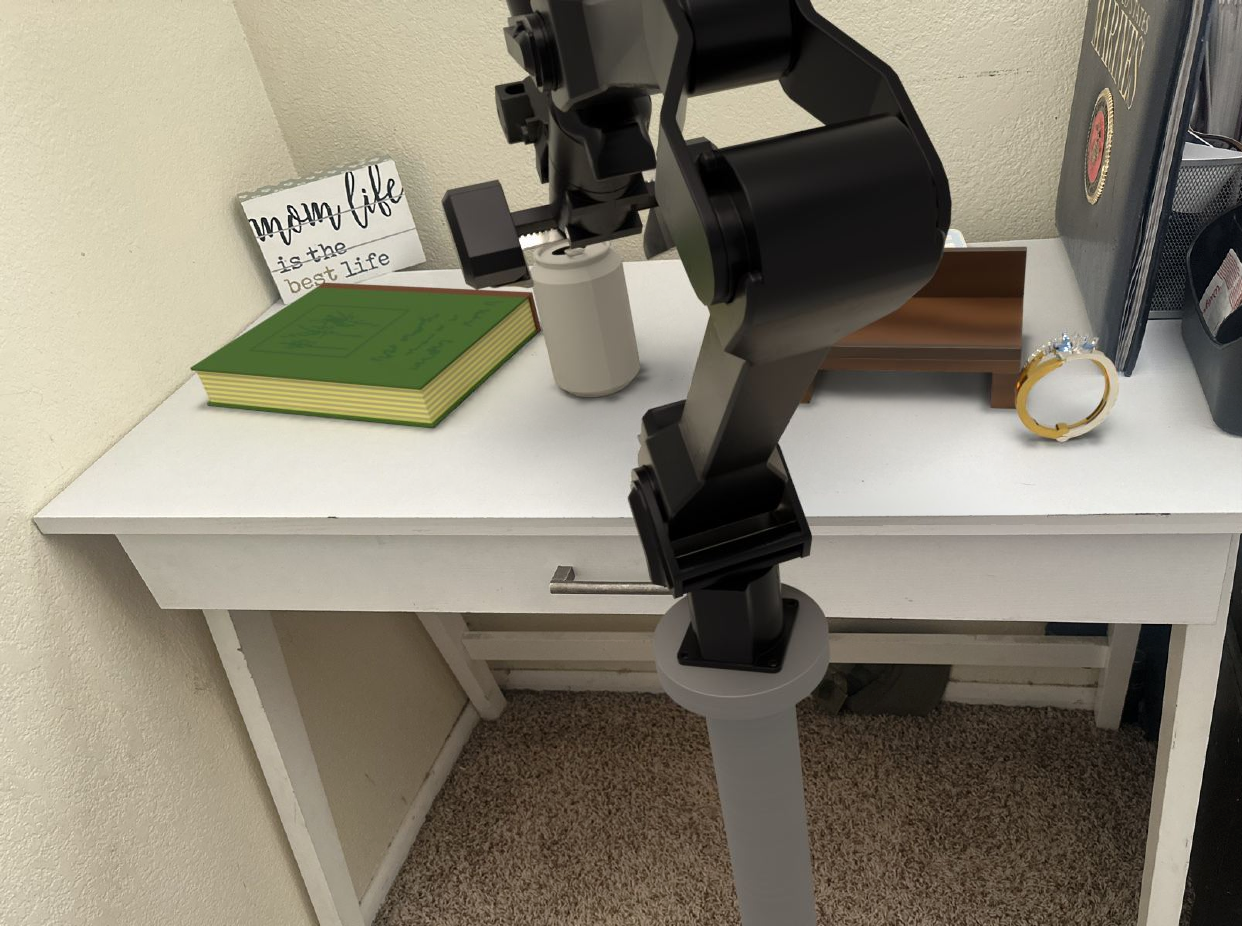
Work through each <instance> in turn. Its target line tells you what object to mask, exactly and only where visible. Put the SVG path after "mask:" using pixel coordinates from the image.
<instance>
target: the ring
mask: <svg viewBox="0 0 1242 926" xmlns="http://www.w3.org/2000/svg"><path fill="white" fill-rule="evenodd" d="M1089 337H1090V334H1089V333H1085V334H1084V336H1083V335H1081V334H1080V331H1078V330H1075V331H1074V334H1073V335H1070V334H1068V330H1063V329H1062V331H1061V335H1059V336H1056V337H1054V338H1051V339H1050V340H1048V341H1046V342H1045V343H1043V344H1042V345H1041V346H1040V347H1038V348H1037V349H1036V350H1035V351H1034V352H1032V353H1031V354H1030V355H1029V357H1028V358H1027V359H1026V360H1025V362H1024V363H1023V366H1022V367H1021V368H1020V373H1019V376H1018V378H1017V381H1016V385H1015V390H1014V399H1015V405H1016V408H1015V409H1016V412H1017V416H1018V418H1019V420H1020V422H1021V423H1022V424H1023V426H1024V427H1025V428H1027V429H1028V430H1029V431H1030V432H1031V433H1033V434H1035V435H1037V436H1039V437H1042V438H1047V439H1054V440H1056V441H1057V442H1060V443H1063V442H1068V441H1069V439H1071V438H1075V437H1079V436H1081V435H1084V434H1086V433H1088V432H1090V431H1092V430H1093V429H1095V428H1096V427H1097V426H1099V425H1100V424H1101V423H1103V421H1104V420H1105V419H1106V418H1107V417H1108V416H1109V414H1110V413H1111V411H1112V410H1113V408H1114V406H1115V405H1116V402H1117V400H1118V396H1119V392H1120V381H1119V375H1118V371H1117V369H1116V366H1115V364H1114V362H1113V361H1112V359H1111V357H1110V356H1109V355H1107V354H1106V353H1105V352H1102V351H1101V350H1099V349H1098V348H1097V345H1098V343H1099V340H1100V338H1099V337H1097V336H1094V337H1093V339H1092V341H1091V343H1088V340H1089ZM1049 354H1051V355H1053V356H1055V357H1052V358H1050V359H1047V360H1045V361H1043V362H1041V361H1042V360H1044V359H1045V358H1046V357H1047V356H1048V355H1049ZM1083 359H1084V360H1090V361H1091V362H1093V363H1094V364H1095V365H1096V366H1097V367H1098V368H1099V369H1100V371H1101V373H1102V374H1103V378H1104V391H1103V395H1102V397H1101V400H1100V402H1099V403H1098V405H1097V407H1096V408H1095V409H1094V410H1093V411H1092V412H1091V413H1090V414H1089V415H1088V416H1087V417H1085V418H1084V419H1082V420H1080V421H1077V422H1075V423H1070V424H1067V423H1066V422H1058V423H1056V424H1055V425H1049V424H1046V423H1045V424H1044V423H1042V422H1040V421H1038V420H1036V419H1035V418H1034V417H1032V416H1031V415H1030V413H1029V412H1028V410H1027V398H1028V396H1029V394H1030V391H1031V390H1032V389H1033V387H1034V386H1036V384H1037V383H1038V382H1039V381H1040V380H1041V379H1043V378H1044V377H1045V376H1047V375H1048V374H1050V373H1052V372H1053V371H1055V370H1056V369H1058V368H1060V367H1063V364H1064V363H1065V362H1071V361H1076V360H1083ZM1040 362H1041V363H1040Z"/></svg>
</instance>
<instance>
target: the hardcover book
mask: <svg viewBox="0 0 1242 926" xmlns="http://www.w3.org/2000/svg"><path fill="white" fill-rule="evenodd" d="M541 330H542V326H541V322H540V318H539V313H538V309H537V305H536V301H535V297H534V292H532V291H517V290H515V291H514V290H491V289H478V290H476V289H474V288H473V289H472V288H471V289H469V288H451V287H450V288H448V287H428V286H408V285H407V286H405V285H403V286H402V285H385V284H363V283H361V284H360V283H343V282H341V283H340V282H322V283H321V284H319V285H318V286H317V287H314V288H312V290H310V291H308V292H307V293H305V294H304V295H302V296H301V297H298V298H297V299H296V300H293V302H291V303H289V304H288V305H287V306H285V307H284V308H281V309H279V310H278V311H277V312H276V313H274V314H272V315H271V316H269V317H268V318H266V319H264V320H263V321H261V322H260V323H258V324H257V325H255V326H254V327H252V328H250V329H249V330H247V331H246V332H244V333H242V334H241V335H239V336H238V337H236V338H234V339H233V340H232V341H230V342H228V343H227V344H225V345H224V346H222V347H221V348H219V349H217V350H216V351H214V352H213V353H211V354H210V355H208V356H206V357H205V358H203V359H202V360H200V361H198V362H197V363H195V364H194V365H192V366H191V367H190V368H189V369H190V371H192V372H196V374H197V376H198V378H199V381H200V383H201V384H202V386H203V389H204V391H205V393H206V396H207V397H208V399H209V401H207V402H206V405H207V406H210V407H218V408H229V409H239V410H240V409H241V410H249V411H250V410H251V411H259V412H260V411H261V412H271V413H278V414H279V413H281V414H290V415H300V416H308V417H309V416H311V417H321V418H330V419H339V420H341V419H342V420H349V421H350V420H351V421H361V422H369V423H379V424H390V425H401V426H410V427H421V428H432V429H434V428H435V427H436V426H438V424H439V423H440V422H442V421H443V420H444V419H446V417H447V416H449V414H450V413H452V411H454V410H455V409H456V408H457V407H458V406H459V405H461V403H462V402H463V401H464V400H466V399H467V398H468V397H469V396H470V395H471V394H472V393H473V392H474V391H476V390H477V389H478V388H479V387H480V386H481V385H482V384H483V383H485V381H487V379H488V378H490V377H491V376H493V374H494V373H495V372H496V371H497V370H498V369H499V368H501V367H502V366H503V365H504V364H505V363H507V361H508V360H510V358H511V357H512V356H514V355H515V354H516V353H517V352H518V351H519V350H520V349H521V348H523V346H524V345H526V344H527V343H528V342H529V341H530V340H531V339H532V338H533V337H535V336H536V335H537V334H538V332H540V331H541Z"/></svg>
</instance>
